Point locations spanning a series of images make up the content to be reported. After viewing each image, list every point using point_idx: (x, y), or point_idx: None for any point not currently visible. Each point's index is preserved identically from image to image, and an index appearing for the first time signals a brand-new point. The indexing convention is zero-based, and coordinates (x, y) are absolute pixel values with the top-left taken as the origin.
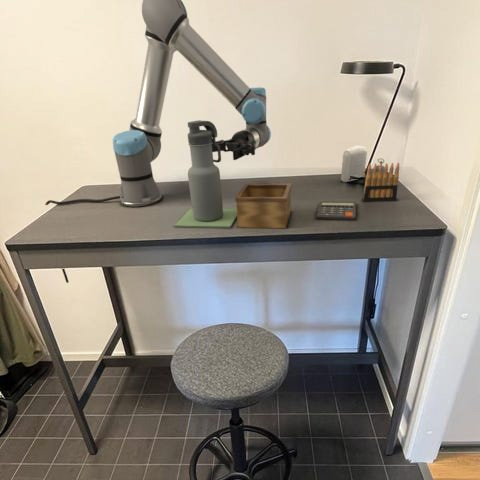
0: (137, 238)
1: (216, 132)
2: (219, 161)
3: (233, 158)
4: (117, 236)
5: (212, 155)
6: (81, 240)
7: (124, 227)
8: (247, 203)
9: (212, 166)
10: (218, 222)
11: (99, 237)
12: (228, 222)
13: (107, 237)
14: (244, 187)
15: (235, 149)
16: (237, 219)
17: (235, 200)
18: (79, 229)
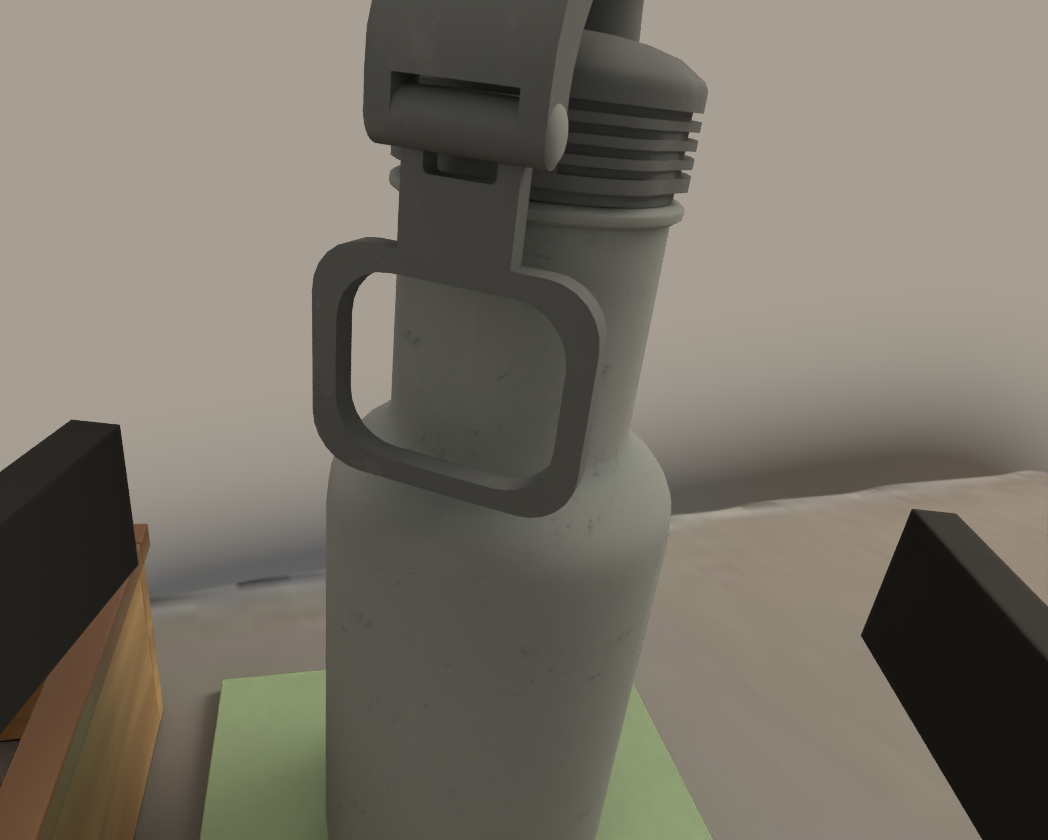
0: (676, 533)
1: (371, 61)
2: (337, 439)
3: (130, 542)
4: (780, 537)
5: (395, 321)
6: (868, 501)
7: (870, 610)
8: None
9: (386, 407)
10: None
11: (839, 524)
12: (247, 735)
13: (808, 527)
14: (24, 788)
15: (50, 482)
16: (156, 663)
17: (147, 538)
18: (1027, 568)
